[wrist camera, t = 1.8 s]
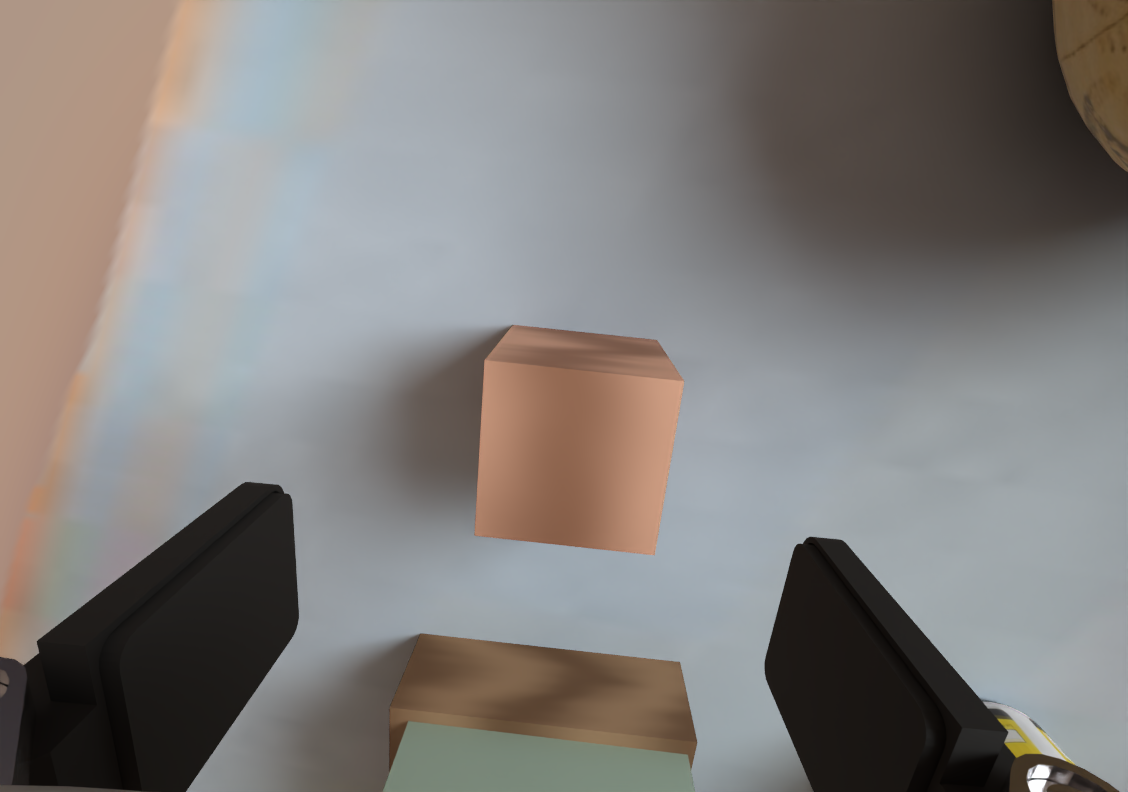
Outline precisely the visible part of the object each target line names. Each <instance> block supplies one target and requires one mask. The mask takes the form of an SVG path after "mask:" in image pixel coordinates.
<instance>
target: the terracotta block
mask: <svg viewBox="0 0 1128 792" xmlns="http://www.w3.org/2000/svg"><path fill="white" fill-rule="evenodd" d="M683 386H684V380H683V379H682V377H681V376H680V374H679V373H678V371H677V370H676V368H675V367H674V365H673V364H672V362H671V360H670V359H669V357H668V356H667V354H666V353H665V351H664V350H663V348H662V347H661V345H660V344H659V342H658V341H657V340H651V339H642V338H632V337H623V336H613V335H604V334H594V333H585V332H575V331H566V330H556V329H547V328H537V327H528V326H519V325H512V327H511V328H510V329H509V330H508V332H507V333H506V334H505V335H504V337H503V338H502V339H501V340H500V342H499V343H498V344H497V345H496V347H495V348H494V349H493V350H492V351H491V353H490V354H489V355H488V356H487V358H486V359H485V362H484V379H483V397H482V414H481V432H480V449H479V467H478V484H477V502H476V519H475V536H484V537H493V538H502V539H511V540H520V541H529V542H538V543H548V544H557V545H566V546H575V547H584V548H593V549H603V550H612V551H621V552H630V553H639V554H648V555H655V550H656V544H657V538H658V532H659V526H660V520H661V514H662V509H663V503H664V497H665V491H666V485H667V479H668V474H669V468H670V462H671V456H672V450H673V444H674V438H675V433H676V427H677V421H678V415H679V409H680V403H681V397H682V392H683Z"/></svg>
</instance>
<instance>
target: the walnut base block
mask: <svg viewBox="0 0 1128 792" xmlns="http://www.w3.org/2000/svg"><path fill="white" fill-rule="evenodd" d="M408 721H412V722H420V723H429V724H437V725H445V726H454V727H462V728H470V729H479V730H487V731H496V732H504V733H512V734H521V735H529V736H537V737H545V738H554V739H562V740H570V741H578V742H587V743H595V744H603V745H612V746H620V747H628V748H636V749H645V750H653V751H661V752H670V753H678V754H686V755H688V758H689V763H690V769H691V768H692V764H693V759H694V755H695V750H696V746H697V739H696V734H695V729H694V725H693V720H692V716H691V711H690V706H689V702H688V697H687V692H686V688H685V683H684V679H683V674H682V669H681V665H680V662H673V661H664V660H655V659H646V658H637V657H628V656H619V655H610V654H601V653H592V652H583V651H574V650H565V649H556V648H547V647H538V646H529V645H520V644H511V643H502V642H493V641H484V640H475V639H466V638H457V637H448V636H439V635H430V634H420V636H419V638H418V641H417V643H416V645H415V648H414V650H413V653H412V655H411V657H410V660H409V662H408V665H407V667H406V669H405V672H404V674H403V677H402V679H401V681H400V684H399V686H398V689H397V691H396V693H395V696H394V698H393V701H392V703H391V705H390V743H389V773H390V770H391V767H392V765H393V762H394V759H395V756H396V754H397V751H398V748H399V745H400V743H401V740H402V737H403V734H404V732H405V729H406V726H407V723H408Z"/></svg>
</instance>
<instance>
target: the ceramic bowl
mask: <svg viewBox="0 0 1128 792" xmlns="http://www.w3.org/2000/svg"><path fill="white" fill-rule="evenodd" d="M1052 5H1053V24H1054V35H1055V43H1056V51H1057V56H1058V60H1059V63H1060V66H1061V70H1062V73H1063V76H1064V79H1065V83H1066V86H1067V89H1068V92H1069V95H1070V98H1071V100H1072V102H1073V103H1074V105H1075V107H1076V109H1077V111H1078V112H1079V114H1080V116H1081V118H1082V119H1083V121H1084V123H1085V125H1086V126H1087V128H1088V129H1089V130H1090V132H1091V133H1092V134H1093V135H1094V137H1095V138H1096V139H1097V140H1098V142H1099V143H1100V144H1101V145H1102V147H1103V148H1104V149H1105V150H1106V152H1107V153H1108V154H1109V155H1110V157H1111V158H1112V159H1113V160H1114V162H1116V163H1117V164H1118V165H1119V166H1120V167H1122V168H1123V169H1124V170H1125V171H1126V172H1128V0H1052Z"/></svg>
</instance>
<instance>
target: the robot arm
mask: <svg viewBox="0 0 1128 792" xmlns="http://www.w3.org/2000/svg"><path fill="white" fill-rule="evenodd" d="M298 619H299V609H298V592H297V575H296V558H295V541H294V524H293V507H292V499H291V496H290V495H289V494H284V492H283V489H282V487H280V486H279V485H273V484H263V483H252V482H245V483H243V484H241V485H240V486H238V487H237V488H236V489H235V490H233V491H232V492H231V493H229V494H228V495H227V496H225V497H224V498H223V499H222V500H220V501H219V502H218V503H216V504H215V505H214V506H212V507H211V508H210V509H208V510H207V511H206V512H205V513H203V514H202V515H201V516H199V517H198V518H197V519H195V520H194V521H193V522H192V523H190V524H189V525H188V526H186V527H185V528H184V529H182V530H181V531H180V532H178V533H177V534H176V535H175V536H173V537H172V538H171V539H169V540H168V541H167V542H165V543H164V544H163V545H162V546H160V547H159V548H158V549H156V550H155V551H154V552H152V553H151V554H150V555H149V556H147V557H146V558H145V559H143V560H142V561H141V562H139V563H138V564H137V565H135V566H134V567H133V568H132V569H130V570H129V571H128V572H126V573H125V574H124V575H122V576H121V577H120V578H119V579H117V580H116V581H115V582H113V583H112V584H111V585H109V586H108V587H107V588H105V589H104V590H103V591H102V592H100V593H99V594H98V595H96V596H95V597H94V598H92V599H91V600H90V601H89V602H87V603H86V604H85V605H83V606H82V607H81V608H79V609H78V610H77V611H76V612H74V613H73V614H72V615H70V616H69V617H68V618H66V619H65V620H64V621H62V622H61V623H60V624H59V625H57V626H56V627H55V628H53V629H52V630H51V631H49V632H48V633H47V634H46V635H44V636H43V637H42V638H40V639H39V640H38V641H37V645H38V649H39V654H37V655H36V656H35V657H34V658H32V659H31V660H30V661H29V662H27V663H26V664H25V665H22V664H21V663H19V662H18V661H16V660H15V659H9V658H3V657H0V792H186V791H187V789H188V788H189V786H190V785H191V783H192V782H193V780H194V779H195V778H196V776H197V775H198V773H199V772H200V770H201V769H202V767H203V766H204V765H205V763H206V762H207V760H208V759H209V757H210V756H211V754H212V753H213V752H214V750H215V749H216V747H217V746H218V744H219V743H220V741H221V740H222V738H223V737H224V736H225V734H226V733H227V731H228V730H229V728H230V727H231V725H232V724H233V723H234V721H235V720H236V718H237V717H238V715H239V714H240V712H241V711H242V710H243V708H244V707H245V705H246V704H247V702H248V701H249V699H250V698H251V696H252V695H253V694H254V692H255V691H256V689H257V688H258V686H259V685H260V683H261V682H262V681H263V679H264V678H265V676H266V675H267V673H268V672H269V670H270V669H271V668H272V666H273V665H274V663H275V662H276V660H277V659H278V657H279V656H280V654H281V653H282V652H283V650H284V649H285V647H286V646H287V644H288V643H289V641H290V640H291V639H292V637H293V635H294V633H295V631H296V628H297V625H298ZM765 676H766V680H767V683H768V685H769V688H770V690H771V692H772V695H773V697H774V699H775V702H776V704H777V707H778V709H779V711H780V714H781V716H782V718H783V721H784V723H785V725H786V728H787V730H788V732H789V735H790V737H791V740H792V742H793V744H794V747H795V749H796V751H797V754H798V756H799V758H800V761H801V763H802V765H803V768H804V770H805V772H806V775H807V777H808V780H809V782H810V784H811V787H812V789H813V791H814V792H1119V791H1118V790H1117V789H1115V788H1114V787H1113V786H1111V785H1110V784H1109V783H1107V782H1105V781H1103V780H1102V779H1100V778H1098V777H1097V776H1095V775H1093V774H1092V773H1090V772H1088V771H1087V770H1085V769H1083V768H1080V767H1078V766H1076V765H1074V764H1071V763H1069V762H1067V761H1064V760H1062V759H1059V758H1055V757H1051V756H1047V755H1044V754H1024V755H1022V756H1019V757H1017V758H1016V757H1015V755H1014V754H1013V753H1012V752H1011V751H1010V749H1009V748H1008V747H1007V746H1006V745H1005V743H1004V742H1005V739H1006V737H1007V735H1008V733H1009V732H1008V731H1007V730H1006V729H1005V727H1004V726H1003V725H1002V724H1001V723H1000V722H999V720H998V719H997V718H996V717H995V716H994V715H993V713H992V712H991V711H990V710H989V709H988V708H987V706H986V705H985V704H984V703H983V702H982V701H981V700H980V698H979V697H978V696H977V695H976V694H975V693H974V691H973V690H972V689H971V688H970V687H969V686H968V684H967V683H966V682H965V681H964V680H963V679H962V677H961V676H960V675H959V674H958V673H957V672H956V671H955V669H954V668H953V667H952V666H951V665H950V664H949V662H948V661H947V660H946V659H945V658H944V657H943V655H942V654H941V653H940V652H939V651H938V650H937V648H936V647H935V646H934V645H933V644H932V643H931V642H930V640H929V639H928V638H927V637H926V636H925V635H924V633H923V632H922V631H921V630H920V629H919V628H918V626H917V625H916V624H915V623H914V622H913V621H912V619H911V618H910V617H909V616H908V615H907V614H906V613H905V611H904V610H903V609H902V608H901V607H900V606H899V604H898V603H897V602H896V601H895V600H894V599H893V597H892V596H891V595H890V594H889V593H888V592H887V590H886V589H885V588H884V587H883V586H882V585H881V584H880V582H879V581H878V580H877V579H876V578H875V577H874V575H873V574H872V573H871V572H870V571H869V570H868V568H867V567H866V566H865V565H864V564H863V563H862V561H861V560H860V559H859V558H858V557H857V556H856V555H855V553H854V552H853V551H852V550H851V549H850V548H849V546H848V545H847V544H846V543H845V542H844V541H842V540H837V539H827V538H817V537H809V538H807V539H806V540H805V541H804V543H803V544H797V545H796V547H795V548H794V551H793V555H792V558H791V562H790V566H789V570H788V574H787V578H786V581H785V585H784V589H783V593H782V597H781V601H780V604H779V608H778V612H777V616H776V620H775V624H774V627H773V631H772V635H771V639H770V643H769V646H768V650H767V654H766V658H765Z"/></svg>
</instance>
